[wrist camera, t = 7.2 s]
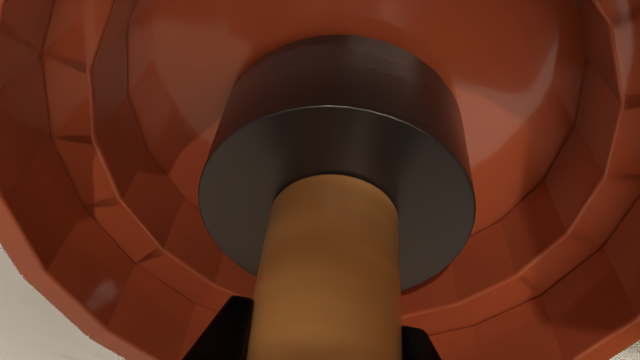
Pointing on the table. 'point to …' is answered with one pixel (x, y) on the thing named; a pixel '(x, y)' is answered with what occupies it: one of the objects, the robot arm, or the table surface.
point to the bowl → (203, 120)
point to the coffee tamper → (337, 193)
